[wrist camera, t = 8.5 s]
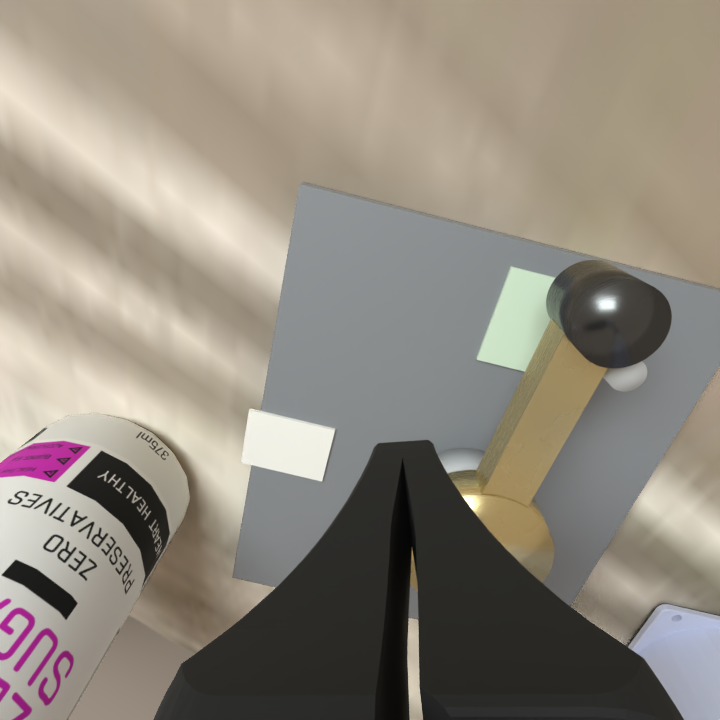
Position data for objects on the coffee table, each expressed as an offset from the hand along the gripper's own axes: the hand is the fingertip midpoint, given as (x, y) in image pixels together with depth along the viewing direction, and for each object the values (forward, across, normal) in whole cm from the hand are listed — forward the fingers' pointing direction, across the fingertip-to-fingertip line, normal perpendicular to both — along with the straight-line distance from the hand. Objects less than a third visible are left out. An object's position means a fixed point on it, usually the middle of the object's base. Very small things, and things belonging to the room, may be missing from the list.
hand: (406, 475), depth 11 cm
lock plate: (+10, -1, +6) cm, 12 cm away
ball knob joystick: (+6, -4, +4) cm, 8 cm away
